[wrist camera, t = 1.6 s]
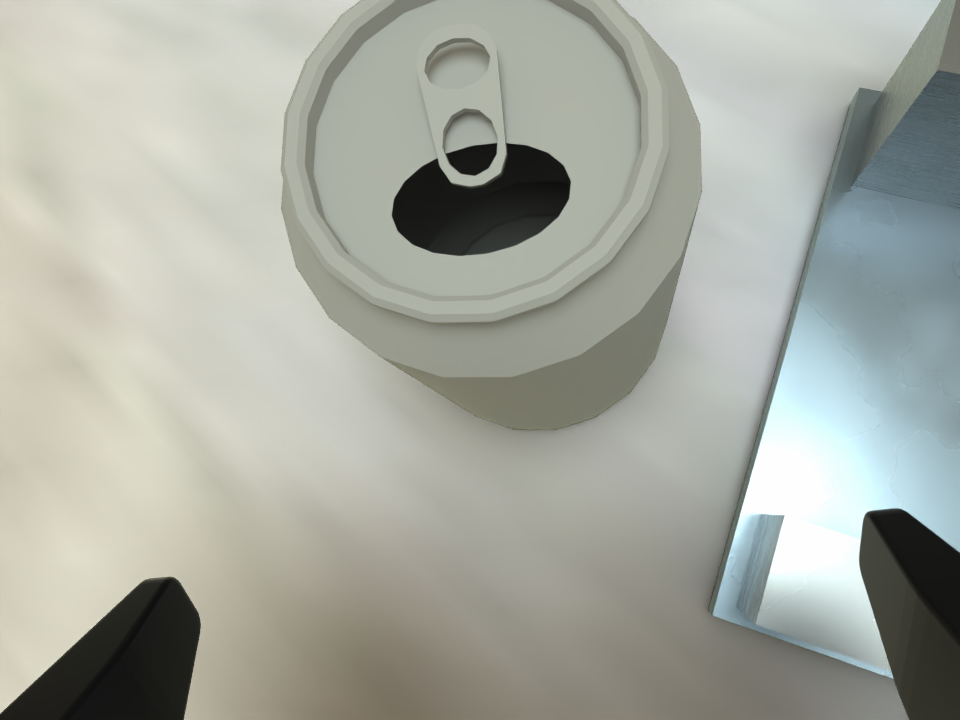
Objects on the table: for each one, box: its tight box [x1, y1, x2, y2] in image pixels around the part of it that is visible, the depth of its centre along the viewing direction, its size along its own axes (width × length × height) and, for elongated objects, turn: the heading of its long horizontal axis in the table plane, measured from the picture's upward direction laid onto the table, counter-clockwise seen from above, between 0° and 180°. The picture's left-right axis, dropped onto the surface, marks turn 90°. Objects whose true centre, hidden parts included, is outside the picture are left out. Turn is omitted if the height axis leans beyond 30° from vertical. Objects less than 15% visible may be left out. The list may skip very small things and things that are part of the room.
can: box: [281, 0, 702, 430], centre depth 18 cm, size 8×8×12 cm
